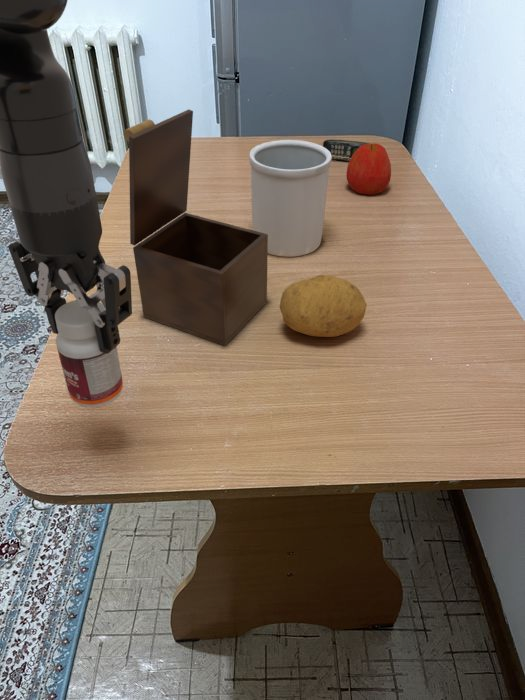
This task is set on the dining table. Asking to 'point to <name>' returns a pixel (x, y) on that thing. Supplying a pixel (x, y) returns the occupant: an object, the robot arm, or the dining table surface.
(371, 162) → the apple
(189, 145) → the lid
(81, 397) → the pill bottle
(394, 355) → the dining table surface
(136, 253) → the chest
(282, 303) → the potato
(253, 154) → the utensil holder
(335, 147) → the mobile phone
